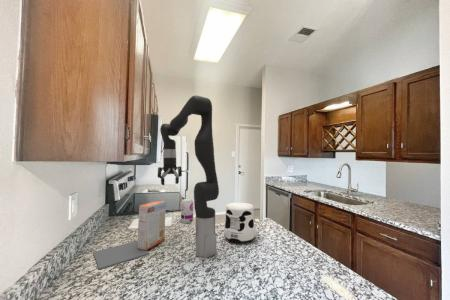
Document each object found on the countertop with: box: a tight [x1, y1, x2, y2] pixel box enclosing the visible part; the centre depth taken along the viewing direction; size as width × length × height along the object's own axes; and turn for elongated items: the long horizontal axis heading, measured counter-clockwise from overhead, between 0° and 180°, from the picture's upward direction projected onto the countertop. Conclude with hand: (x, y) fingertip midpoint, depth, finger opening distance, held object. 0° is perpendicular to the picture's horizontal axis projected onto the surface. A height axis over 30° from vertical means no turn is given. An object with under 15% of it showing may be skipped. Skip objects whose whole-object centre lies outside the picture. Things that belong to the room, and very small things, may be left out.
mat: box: [92, 240, 150, 271], centre depth 95 cm, size 18×20×1 cm
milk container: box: [223, 201, 257, 243], centre depth 113 cm, size 17×17×18 cm
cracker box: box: [137, 200, 167, 251], centre depth 105 cm, size 14×6×21 cm, turn 159°
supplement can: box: [180, 198, 194, 224], centre depth 141 cm, size 8×8×15 cm
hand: (170, 184), depth 122 cm, fingers open, 8 cm apart
